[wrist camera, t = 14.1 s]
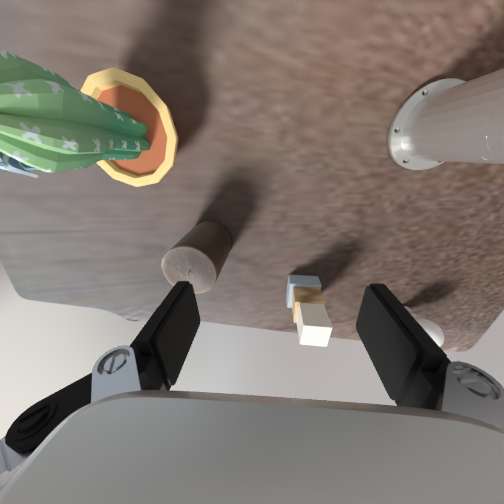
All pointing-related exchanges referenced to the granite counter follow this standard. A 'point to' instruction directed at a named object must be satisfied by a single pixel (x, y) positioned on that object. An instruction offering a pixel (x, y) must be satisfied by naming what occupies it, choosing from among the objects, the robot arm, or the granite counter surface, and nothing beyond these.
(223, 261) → the pillar candle
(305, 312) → the white block
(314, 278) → the tower base
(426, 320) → the lightbulb
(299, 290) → the tower mid
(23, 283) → the granite counter surface
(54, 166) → the potted cactus
